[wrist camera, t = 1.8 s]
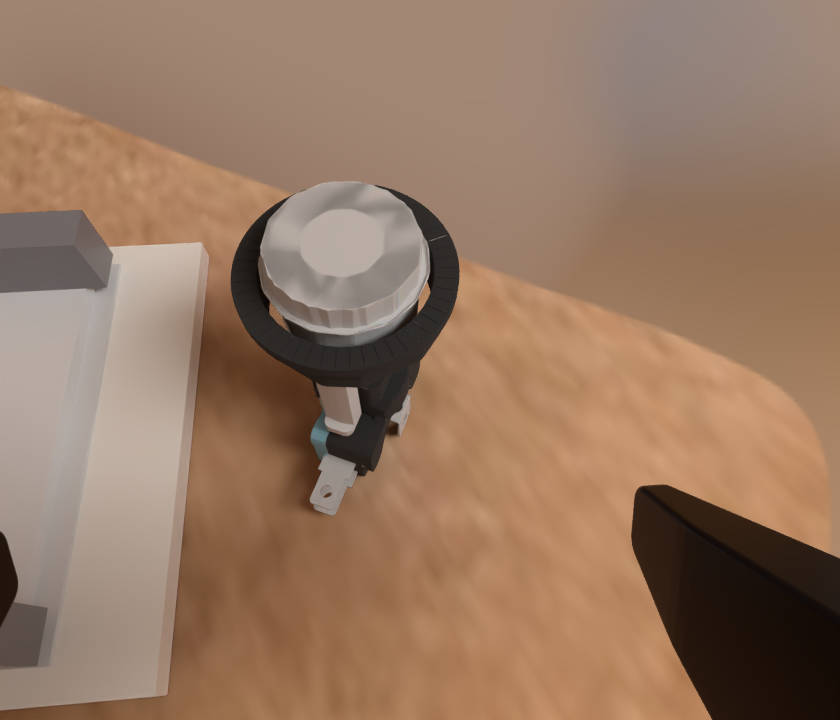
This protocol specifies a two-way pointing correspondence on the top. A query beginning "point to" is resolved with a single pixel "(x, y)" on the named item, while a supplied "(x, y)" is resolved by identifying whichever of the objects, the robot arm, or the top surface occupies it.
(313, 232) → the push button
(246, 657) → the top surface
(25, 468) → the rail board
